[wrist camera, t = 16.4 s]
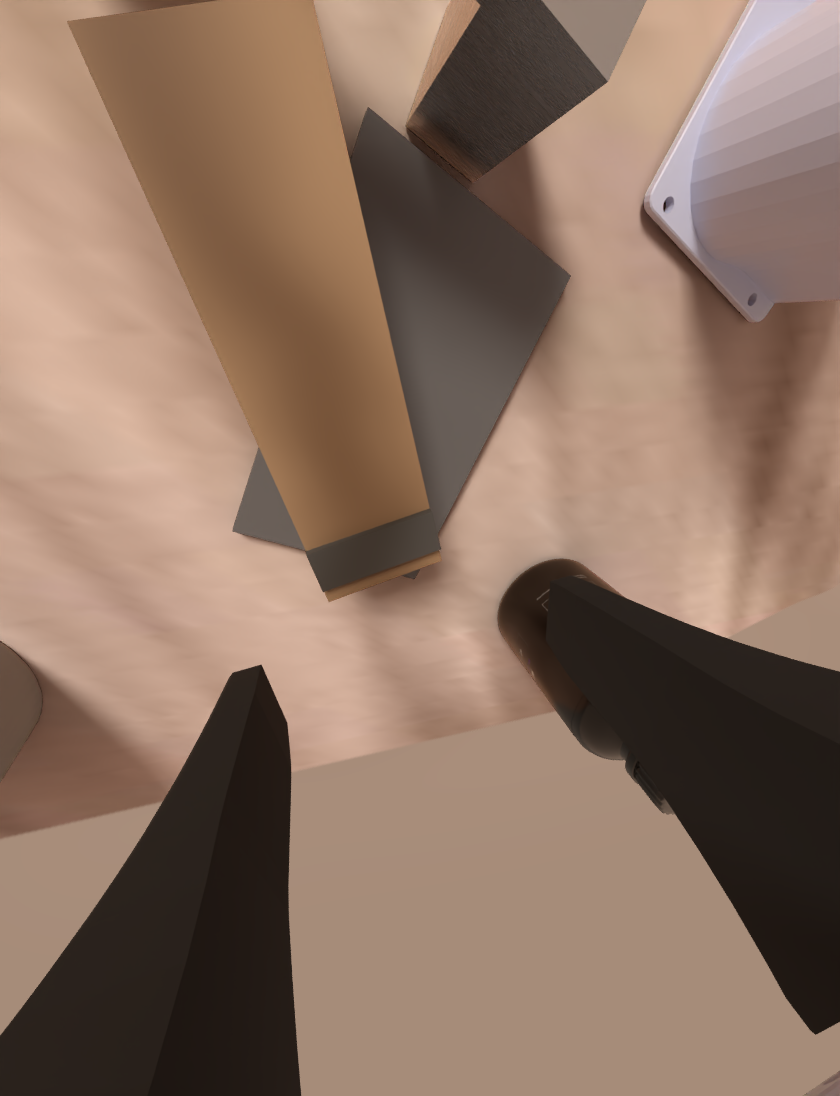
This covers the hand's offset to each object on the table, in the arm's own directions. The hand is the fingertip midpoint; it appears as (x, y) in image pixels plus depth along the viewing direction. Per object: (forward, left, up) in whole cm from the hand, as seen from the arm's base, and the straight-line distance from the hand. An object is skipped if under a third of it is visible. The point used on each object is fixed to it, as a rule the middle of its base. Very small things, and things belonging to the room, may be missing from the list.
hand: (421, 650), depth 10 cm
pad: (0, -5, -10) cm, 11 cm away
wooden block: (+4, -4, -10) cm, 11 cm away
